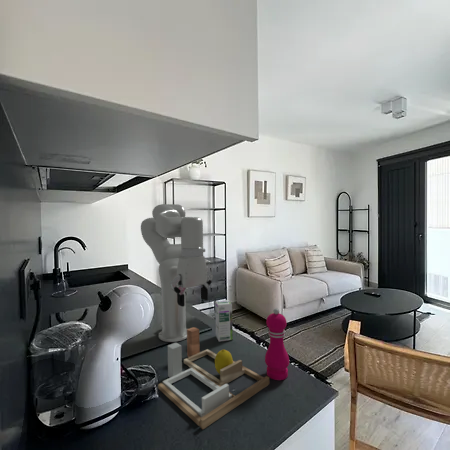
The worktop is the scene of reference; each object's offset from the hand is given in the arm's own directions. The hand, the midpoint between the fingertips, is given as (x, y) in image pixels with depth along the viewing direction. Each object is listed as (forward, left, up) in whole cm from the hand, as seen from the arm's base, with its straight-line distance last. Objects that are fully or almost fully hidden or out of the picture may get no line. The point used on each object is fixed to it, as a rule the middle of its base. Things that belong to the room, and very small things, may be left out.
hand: (193, 302), depth 92 cm
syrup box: (-3, +17, -19) cm, 26 cm away
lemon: (+16, -1, -19) cm, 25 cm away
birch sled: (+9, 0, -18) cm, 21 cm away
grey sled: (+15, -11, -18) cm, 26 cm away
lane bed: (+17, -6, -19) cm, 26 cm away
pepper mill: (+27, +12, -19) cm, 35 cm away
